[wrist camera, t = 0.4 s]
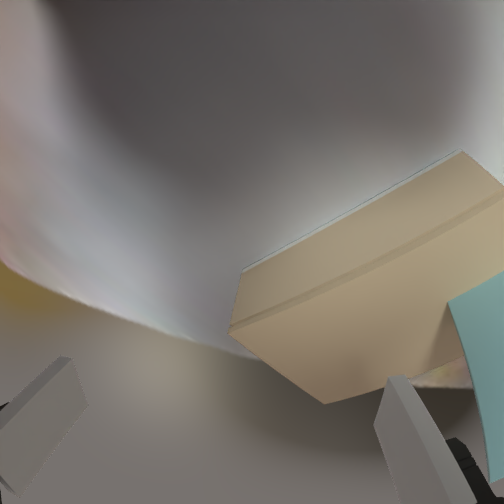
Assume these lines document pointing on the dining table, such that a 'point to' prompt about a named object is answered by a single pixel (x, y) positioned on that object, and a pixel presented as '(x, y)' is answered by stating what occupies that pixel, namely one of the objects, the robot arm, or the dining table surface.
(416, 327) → the carton lid
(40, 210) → the dining table surface
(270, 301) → the carton
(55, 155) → the dining table surface
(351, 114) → the dining table surface
